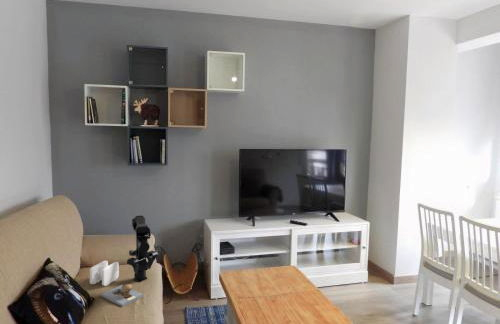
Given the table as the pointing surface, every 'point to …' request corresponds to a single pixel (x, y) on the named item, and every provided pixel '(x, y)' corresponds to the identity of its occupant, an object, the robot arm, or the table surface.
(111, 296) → the keyhole board
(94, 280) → the cable organizer
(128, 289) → the peg
